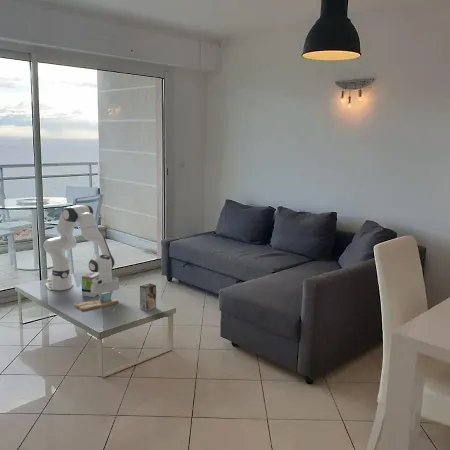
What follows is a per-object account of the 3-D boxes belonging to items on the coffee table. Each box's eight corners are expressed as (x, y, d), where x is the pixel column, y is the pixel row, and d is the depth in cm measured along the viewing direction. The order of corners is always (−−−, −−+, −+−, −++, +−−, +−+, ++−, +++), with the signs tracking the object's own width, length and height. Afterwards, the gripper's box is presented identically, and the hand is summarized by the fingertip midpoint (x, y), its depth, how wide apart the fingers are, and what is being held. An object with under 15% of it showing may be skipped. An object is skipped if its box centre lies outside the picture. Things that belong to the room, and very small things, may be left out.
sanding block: (100, 300, 313) (100, 293, 312) (106, 298, 316) (106, 291, 315) (104, 302, 309) (104, 295, 308) (111, 300, 312) (111, 293, 311)
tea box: (94, 297, 323) (94, 277, 320) (81, 296, 324) (80, 276, 322) (104, 291, 337) (103, 271, 335) (91, 289, 339) (91, 270, 336)
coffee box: (149, 305, 310) (149, 283, 308) (156, 307, 307) (156, 285, 304) (139, 309, 303) (139, 286, 300) (146, 311, 299) (146, 288, 297)
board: (74, 306, 304) (74, 304, 303) (109, 298, 321) (109, 296, 321) (83, 311, 295) (83, 309, 295) (118, 303, 313) (118, 300, 313)
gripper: (116, 275, 319) (116, 294, 322) (89, 280, 305) (89, 299, 308) (121, 277, 315) (121, 296, 317) (94, 282, 301) (94, 302, 303)
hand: (105, 298), depth 312 cm, fingers closed on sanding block, 5 cm apart
